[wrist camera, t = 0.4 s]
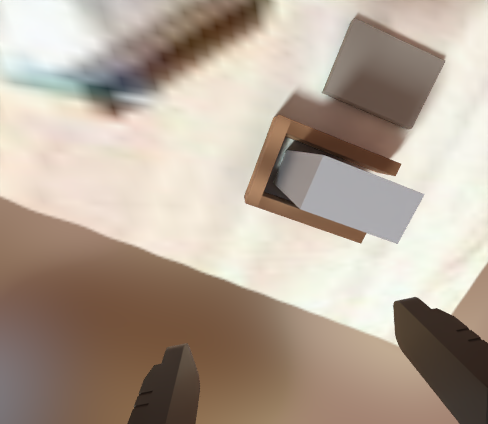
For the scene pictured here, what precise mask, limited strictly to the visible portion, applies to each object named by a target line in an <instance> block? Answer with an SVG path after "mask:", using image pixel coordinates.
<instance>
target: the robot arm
mask: <svg viewBox="0 0 488 424" xmlns="http://www.w3.org/2000/svg"><path fill="white" fill-rule="evenodd" d="M393 307H394V324H395V336H396V340H397V342H398V345H399V347H400V348H401V350H402V352H403V353H404V354H405V355H406V357H407V358H408V359H409V360H410V362H411V363H412V364H413V366H414V367H415V368H416V369H417V371H418V372H419V373H420V374H421V376H422V377H423V378H424V379H425V381H426V382H427V383H428V384H429V386H430V387H431V388H432V389H433V391H434V392H435V393H436V394H437V396H438V397H439V398H440V399H441V401H442V402H443V403H444V405H445V406H446V407H447V408H448V410H449V411H450V412H451V413H452V415H453V416H454V417H455V418H456V420H457V421H458V422H459V423H460V424H488V343H487V342H485V341H484V340H481V338H480V337H479V336H478V335H477V334H475V333H474V332H473V331H472V330H469V329H468V327H467V326H465V325H464V324H463V323H462V322H460V321H459V320H458V319H457V318H455V317H454V316H452V315H450V314H448V313H446V312H444V311H442V310H440V309H437V308H436V309H431V308H429V307H428V306H427V305H426V304H425V303H424V302H423V301H421V300H420V299H419V298H417V297H413V298H408V299H403V300H398V301H395V302H394V305H393ZM199 393H200V381H199V374H198V371H197V368H196V365H195V362H194V359H193V356H192V353H191V350H190V348H189V345H188V344H181V345H177V346H171V347H168V348H167V349H166V351H165V354H164V357H163V360H162V363H161V364H158V365H154V366H153V368H152V369H151V370H150V372H149V373H148V374H147V376H146V377H145V379H144V381H143V384H142V387H141V389H140V392H139V396H138V397H137V400H136V402H135V405H134V409H133V411H132V413H131V416H130V418H129V421H128V424H195V422H196V415H197V408H198V401H199Z"/></svg>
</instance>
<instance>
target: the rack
mask: <svg viewBox="0 0 488 424" xmlns="http://www.w3.org/2000/svg"><path fill="white" fill-rule="evenodd" d="M285 136H286V137H288V138H291V139H293V140H296V141H298V142H301V143H303V144H306V145H309V146H311V147H314V148H316V149H319V150H321V151H324V152H326V153H329V154H331V155H334V156H337V157H339V158H342V159H344V160H347V161H349V162H352V163H354V164H357V165H359V166H362V167H365V168H367V169H370V170H372V171H375V172H378V173H382V174H387V175H392V176H396V174H397V172H398V170H399V168H400V166H401V164H400V163H398V162H395V161H393V160H390V159H388V158H385V157H383V156H380V155H378V154H375V153H373V152H371V151H368V150H366V149H363V148H361V147H358V146H356V145H353V144H351V143H348V142H346V141H343V140H341V139H338V138H336V137H333V136H331V135H328V134H326V133H323V132H321V131H318V130H316V129H314V128H311V127H309V126H306V125H304V124H301V123H299V122H296V121H294V120H291V119H289V118H286V117H284V116H281V115H278V116H276V117H274V118H273V120H272V123H271V126H270V128H269V131H268V134H267V137H266V139H265V142H264V145H263V147H262V150H261V153H260V155H259V158H258V161H257V163H256V166H255V169H254V171H253V174H252V177H251V179H250V182H249V185H248V187H247V190H246V193H245V195H244V198H245V203H246V204H249V205H252V206H255V207H258V208H261V209H264V210H266V211H269V212H272V213H275V214H278V215H281V216H284V217H286V218H289V219H292V220H295V221H298V222H301V223H304V224H306V225H309V226H312V227H315V228H318V229H321V230H324V231H327V232H329V233H332V234H335V235H338V236H341V237H344V238H347V239H349V240H352V241H355V242H358V243H362V241H363V239H364V237H365V235H366V233H365V232H363V231H360V230H357V229H354V228H351V227H349V226H346V225H343V224H340V223H337V222H335V221H332V220H329V219H326V218H323V217H321V216H318V215H315V214H312V213H309V212H307V211H304V210H301V209H299V208H298V207H297V206H296V205H295V204H294V203H293V202H291V201H289V200H286V199H283V198H280V197H278V196H275V195H272V194H269V193H266V192H264V189H265V187H266V184H267V182H268V179H269V176H270V174H271V171H272V169H273V166H274V164H275V161H276V159H277V156H278V153H279V151H280V148H281V146H282V143H283V141H284V138H285Z"/></svg>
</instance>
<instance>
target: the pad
mask: <svg viewBox="0 0 488 424" xmlns="http://www.w3.org/2000/svg"><path fill="white" fill-rule="evenodd" d="M444 63H445V60H442V59H440V58H438V57H436V56H434V55H432V54H430V53H428V52H426V51H424V50H421V49H419V48H417V47H415V46H413V45H411V44H409V43H407V42H405V41H402V40H400V39H398V38H396V37H394V36H392V35H390V34H388V33H386V32H384V31H381V30H379V29H377V28H375V27H373V26H371V25H369V24H367V23H365V22H363V21H360V20H358V19H356V18H354V19H353V20H352V21H351V23H350V25H349V28H348V30H347V33H346V35H345V38H344V40H343V43H342V45H341V47H340V50H339V52H338V55H337V57H336V60H335V62H334V65H333V67H332V70H331V72H330V74H329V77H328V79H327V82H326V84H325V87H324V89H323V92H322V93H323V94H326V95H328V96H330V97H333V98H335V99H338V100H340V101H342V102H345V103H347V104H349V105H352V106H354V107H356V108H359V109H361V110H363V111H366V112H368V113H370V114H373V115H375V116H378V117H380V118H382V119H385V120H387V121H389V122H392V123H394V124H396V125H399V126H401V127H403V128H406V129H410V128H412V127H413V125H414V123H415V121H416V119H417V117H418V115H419V113H420V111H421V109H422V107H423V105H424V103H425V101H426V99H427V97H428V95H429V93H430V91H431V89H432V87H433V85H434V83H435V81H436V79H437V77H438V75H439V73H440V71H441V69H442V67H443V65H444Z"/></svg>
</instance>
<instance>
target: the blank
mask: <svg viewBox="0 0 488 424" xmlns="http://www.w3.org/2000/svg"><path fill="white" fill-rule="evenodd" d="M273 183H274V184H275V185H276V186H277V187H278V188H279V189H280V190H281V191H282V192H283V193H284V194H285V195H286V196H287V197H288V198H289V199H290V200H291V201H292V202H293V203H294V204H295V205H296V206H297V207H298V208H299V209H301V210H304V211H307V212H309V213H312V214H315V215H318V216H321V217H323V218H326V219H329V220H332V221H335V222H337V223H340V224H343V225H346V226H349V227H351V228H354V229H357V230H360V231H363V232H365V233H368V234H371V235H374V236H377V237H379V238H382V239H385V240H388V241H391V242H394V243H396V244H398V242H399V240H400V238H401V237H402V235H403V233H404V231H405V229H406V227H407V226H408V224H409V222H410V220H411V218H412V216H413V215H414V213H415V211H416V209H417V207H418V205H419V204H420V202H421V200H422V198H423V196H424V194H422V193H420V192H417V191H415V190H412V189H410V188H407V187H404V186H402V185H399V184H397V183H394V182H392V181H389V180H387V179H384V178H381V177H379V176H376V175H374V174H371V173H369V172H366V171H364V170H361V169H358V168H356V167H353V166H351V165H348V164H346V163H343V162H341V161H338V160H335V159H333V158H330V157H328V156H325V155H321V154H313V153H305V152H298V151H290V150H286V152H285V155H284V157H283V160H282V162H281V165H280V167H279V170H278V172H277V175H276V177H275V180H274V182H273Z"/></svg>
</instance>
